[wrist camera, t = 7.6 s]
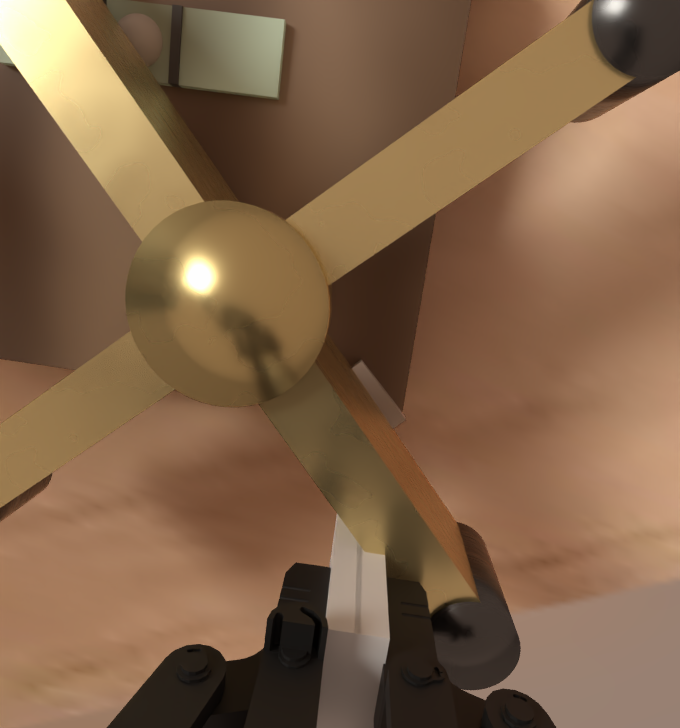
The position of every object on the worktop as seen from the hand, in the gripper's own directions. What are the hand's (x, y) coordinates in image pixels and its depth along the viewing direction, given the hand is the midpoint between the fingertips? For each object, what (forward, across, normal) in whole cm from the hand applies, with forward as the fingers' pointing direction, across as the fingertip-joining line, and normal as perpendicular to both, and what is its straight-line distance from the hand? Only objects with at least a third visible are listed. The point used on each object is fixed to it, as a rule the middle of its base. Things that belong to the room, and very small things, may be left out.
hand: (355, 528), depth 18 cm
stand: (+5, -7, +11) cm, 14 cm away
